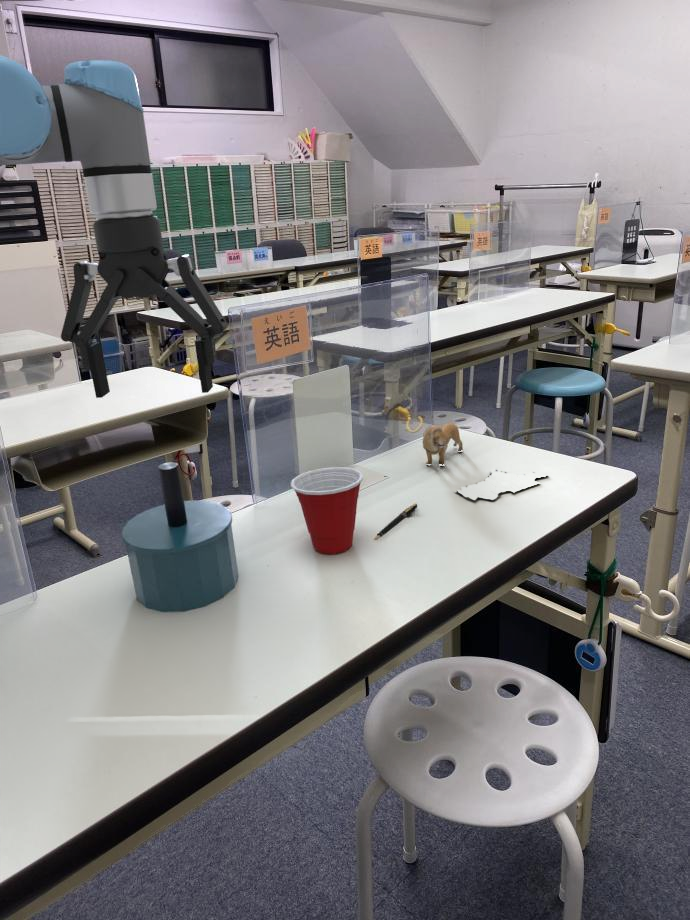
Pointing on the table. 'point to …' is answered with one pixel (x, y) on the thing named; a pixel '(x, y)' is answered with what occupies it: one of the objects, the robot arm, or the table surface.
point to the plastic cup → (329, 506)
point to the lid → (176, 520)
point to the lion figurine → (440, 440)
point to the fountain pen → (397, 520)
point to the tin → (185, 575)
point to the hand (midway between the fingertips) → (155, 392)
